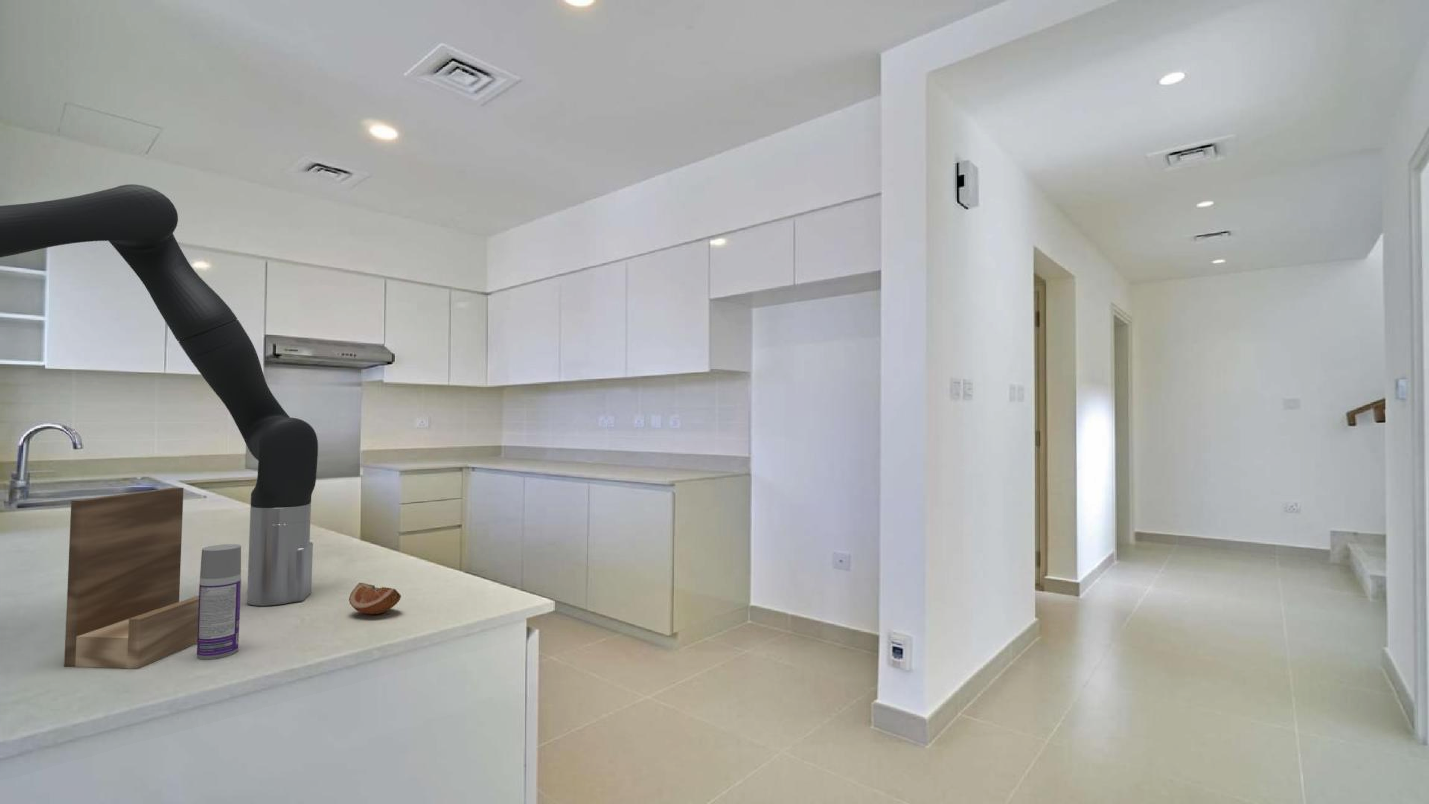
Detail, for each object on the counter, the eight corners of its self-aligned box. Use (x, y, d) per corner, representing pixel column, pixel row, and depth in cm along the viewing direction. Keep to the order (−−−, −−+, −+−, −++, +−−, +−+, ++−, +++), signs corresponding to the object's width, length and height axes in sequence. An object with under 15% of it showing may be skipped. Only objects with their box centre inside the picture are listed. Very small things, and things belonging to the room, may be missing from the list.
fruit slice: (408, 612, 111) (409, 583, 111) (375, 623, 105) (376, 593, 105) (373, 606, 114) (374, 578, 114) (339, 617, 108) (340, 587, 108)
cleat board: (231, 628, 101) (236, 488, 102) (137, 668, 85) (144, 502, 86) (168, 627, 101) (174, 487, 102) (64, 666, 85) (71, 500, 86)
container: (211, 647, 93) (215, 543, 93) (246, 647, 93) (249, 544, 94) (188, 659, 88) (192, 550, 89) (224, 659, 89) (228, 550, 89)
